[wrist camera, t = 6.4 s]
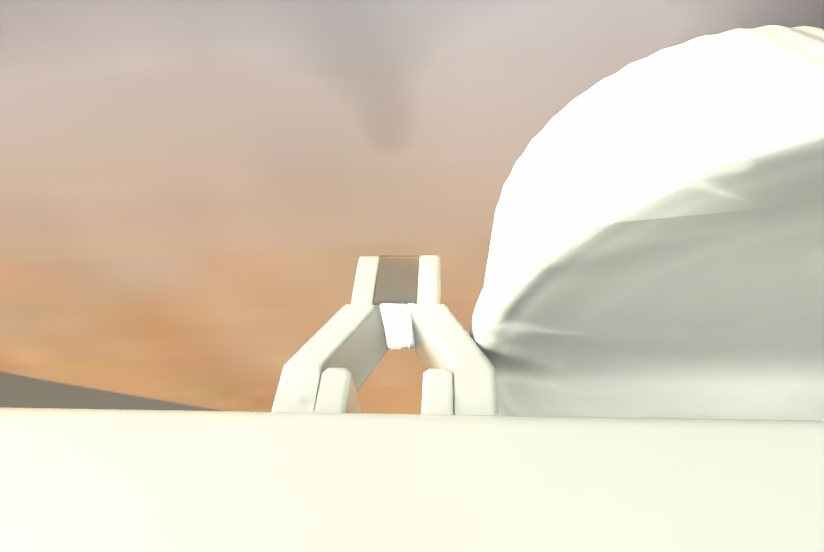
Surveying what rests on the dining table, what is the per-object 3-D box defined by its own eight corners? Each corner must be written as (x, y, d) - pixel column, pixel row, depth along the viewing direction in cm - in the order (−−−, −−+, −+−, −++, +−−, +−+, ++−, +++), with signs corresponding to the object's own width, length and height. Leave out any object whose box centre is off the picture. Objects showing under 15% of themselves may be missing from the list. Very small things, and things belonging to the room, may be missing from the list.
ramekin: (499, 343, 18) (512, 483, 15) (412, 64, 11) (396, 219, 7) (842, 297, 15) (960, 458, 12) (1068, -130, 8) (1597, -34, 4)
